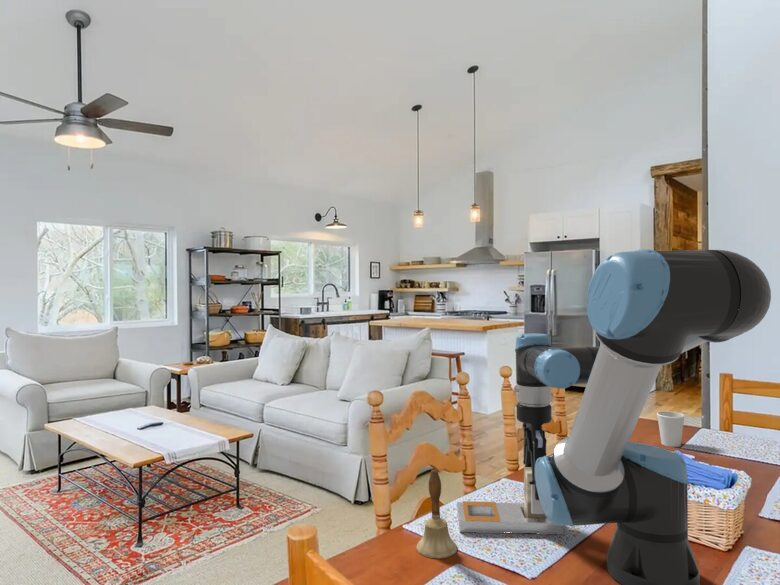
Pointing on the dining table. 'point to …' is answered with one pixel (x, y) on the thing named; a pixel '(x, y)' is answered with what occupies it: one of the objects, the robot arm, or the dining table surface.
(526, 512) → the peg
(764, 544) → the dining table surface
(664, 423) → the dixie cup
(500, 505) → the grey board
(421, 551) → the hand bell
